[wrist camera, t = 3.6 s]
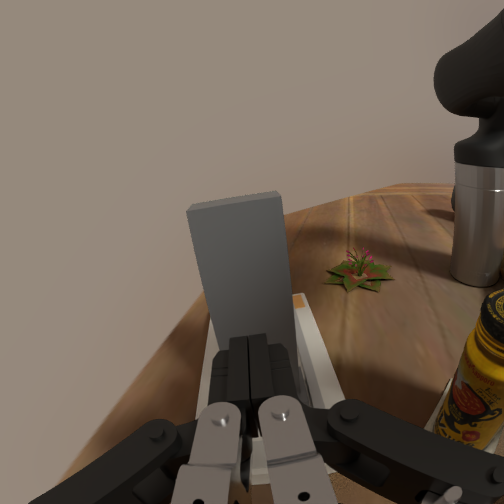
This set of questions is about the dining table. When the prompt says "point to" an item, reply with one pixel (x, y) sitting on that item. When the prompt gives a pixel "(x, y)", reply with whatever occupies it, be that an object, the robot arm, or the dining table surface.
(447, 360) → the dining table surface
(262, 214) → the switch lever
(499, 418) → the condiment
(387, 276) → the succulent plant
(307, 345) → the switch board
